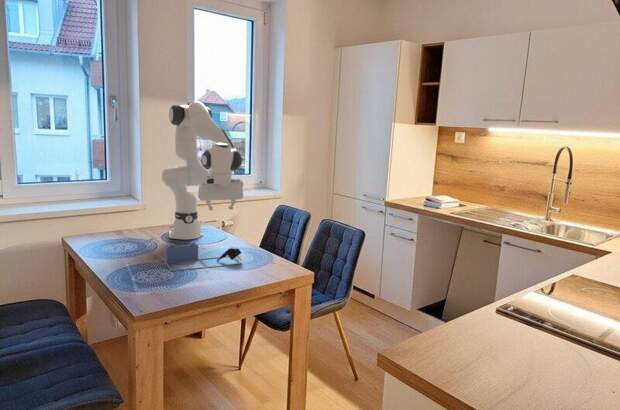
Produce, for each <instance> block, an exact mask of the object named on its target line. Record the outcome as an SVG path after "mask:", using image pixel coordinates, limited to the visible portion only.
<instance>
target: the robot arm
mask: <svg viewBox="0 0 620 410" xmlns="http://www.w3.org/2000/svg"><path fill="white" fill-rule="evenodd" d="M168 119H169V122H170V124H172V125H173V126H176V128H175V138H174V139H175V155H176V156H177V157H178V159H180V160H182V161H185V163H186V165H185V166H184V165H183V166H182V165H181V166H180V165H177V166H168V167H166V168H164V169H163V170H162V172H161V181H162V182H163V184H164V185H165V186H167V187H168V189H170V190H171V192H173V193H172V194H173V196H174V198H175V200H174V201H175V212H174V218H175V219H174V220H173V222H172V223H171V224H169V229H171V230H169V231H168V238H169V239H176V240H194V239H195V240H196V239H199V238H200V237H204V233H202V232H201V230H202V229H201V221H200V220H199V213H198V199H199V201H200V202H202V201H205V203H206V204H207V206H208V211H213V210H214V209H213V208H214V206H213V205H211V201H227V200H228V201H231V203H230V204H229V205H228V210H234V206H235V203H236V201H237V200H242V199H243V198H244V190H243V188H244V182H243V180H241V179H239V178H237V179H236V178H232V172H236V171H237V170H238V169H239V168H241V166H242V163H243V158H242V155H241V153H240V152H239V151H238V150H237V148H236V147H235V145H234V144H233V143H232V141H231V139H230V138H229V136H228V134H227V133H226V132H225V130H224V129H223V128H222V127H221V126H219V124H217V123H216V122H215V121H214V120H213V113H212V110H211V109H210V108H209V107H208V106H206V105H205V104H204V103H202V102H201V101H193V102H191V103H189V105H188V104H182V105H181V104H174V105H172V106H171V107H170V108H169V111H168ZM197 137H199V138H201V139H205V140H208V141H212V142H215V143H213V144H212V146H211V148H209V149H207V150H206V149H205V150H204V151H203V153H202V154H201V160H200V159H199V155H198V147H197V146H198V143H197V142H198V141H197ZM210 171H211V172H210ZM187 187H198V191H197V193H198V194H197V197H196V195H195V194H193V193H191V192H189V191H187ZM197 198H198V199H197Z"/></svg>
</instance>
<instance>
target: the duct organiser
mask: <svg viewBox="0 0 620 410" xmlns="http://www.w3.org/2000/svg"><path fill="white" fill-rule="evenodd" d="M220 257H221V256H217V257H216V256H215V257H205V258H199V244H197V243H196V242H195V241H190V244H185V245H176V244H175V243H169V244H168V246H166V261H164V264H165V266H166V267H167V269H168V270H169V272H179V271H180V272H181V271H190V270H201V269H208V268H219V267H228V266H229V267H230V266H238V265H243V264H242V262H238V261H237V260H236V258H234V259H233V260H235V262H237V263H229V264H221V265H220V264H219V265H210V266H208V265H207V264H206V262H204V260H212V259H214V260H215V259H219V258H220ZM224 258H229V256H228V255H227V256H225V257H224ZM224 258H223V259H224ZM190 261H192V262H193V261H200V263H201V264H202V265H203V266H201V267H193V268H191V267H190V268H181V269H172V268H171V267H170V265H169V264H171V263H182V262H183V263H184V262H190Z"/></svg>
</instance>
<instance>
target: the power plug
mask: <svg viewBox="0 0 620 410" xmlns="http://www.w3.org/2000/svg"><path fill="white" fill-rule="evenodd" d="M241 253H242V251H241V250H240V248H238V247H233V246H232V247H230V248H228V249H227V250H225V251H224V252H223V253H222V254H221V256H219V257H220V258H217V260H216V262H219V261H220V260H222V259H224V257H225V256H229V257H228V258H229V259H230V260H231V261H233V260H234V258H236V260H237V261H238V262H240V261H242V260H243V259H242V258H241V256H240V255H241ZM225 258H226V257H225ZM236 260H235V261H236ZM237 261H236V262H237ZM238 262H237V263H238Z"/></svg>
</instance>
